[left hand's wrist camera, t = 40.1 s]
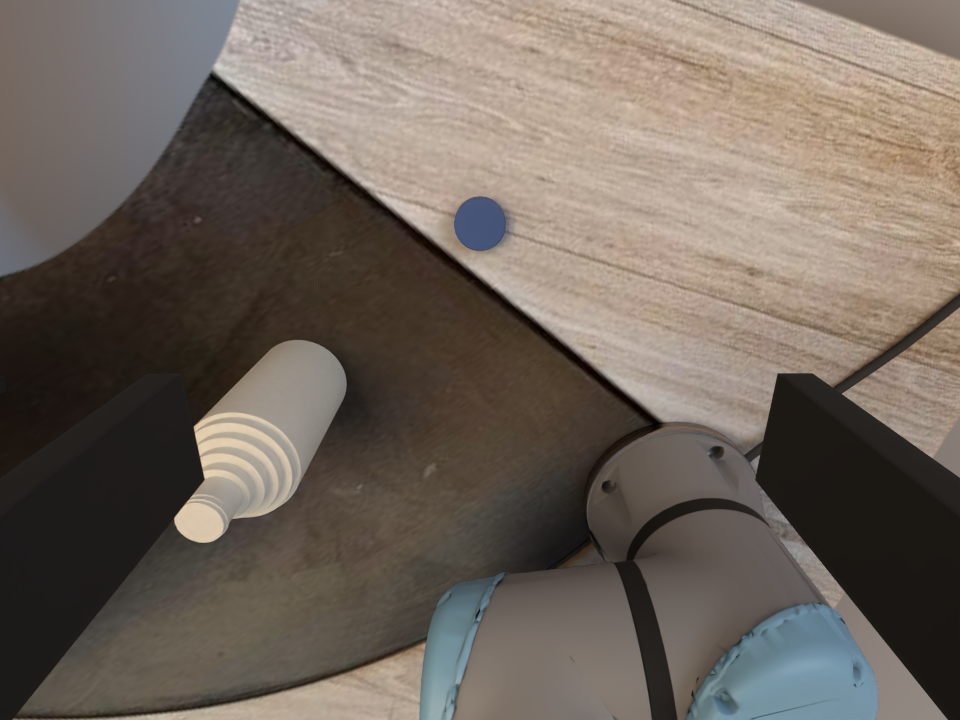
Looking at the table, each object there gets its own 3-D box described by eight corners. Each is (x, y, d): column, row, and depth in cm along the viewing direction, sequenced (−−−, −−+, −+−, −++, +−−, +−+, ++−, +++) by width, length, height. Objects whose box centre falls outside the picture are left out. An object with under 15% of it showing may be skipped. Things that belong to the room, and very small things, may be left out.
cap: (446, 231, 43) (445, 234, 42) (471, 186, 42) (470, 188, 40) (488, 255, 44) (488, 260, 42) (514, 213, 43) (515, 215, 41)
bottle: (317, 325, 46) (215, 442, 28) (362, 399, 48) (295, 549, 31) (241, 361, 47) (98, 496, 29) (289, 432, 50) (184, 594, 32)
